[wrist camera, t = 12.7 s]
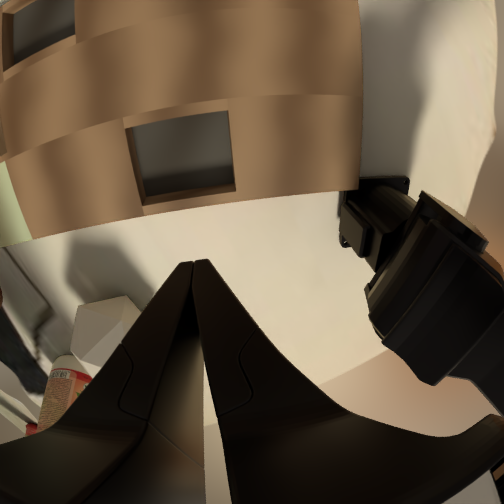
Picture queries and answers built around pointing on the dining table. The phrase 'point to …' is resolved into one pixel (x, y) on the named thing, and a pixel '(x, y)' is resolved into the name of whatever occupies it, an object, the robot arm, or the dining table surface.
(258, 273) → the dining table surface
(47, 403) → the fruit juice
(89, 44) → the board
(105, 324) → the die
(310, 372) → the dining table surface
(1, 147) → the birch cube
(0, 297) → the food container
